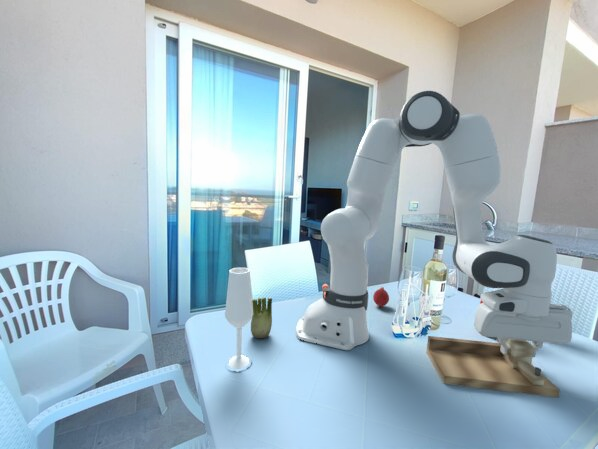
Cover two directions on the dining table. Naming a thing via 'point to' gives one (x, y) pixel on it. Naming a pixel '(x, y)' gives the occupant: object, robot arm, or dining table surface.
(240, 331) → the champagne flute
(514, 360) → the marking gauge
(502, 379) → the board
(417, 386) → the dining table surface
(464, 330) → the dining table surface
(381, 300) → the onion
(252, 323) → the fennel bulb
